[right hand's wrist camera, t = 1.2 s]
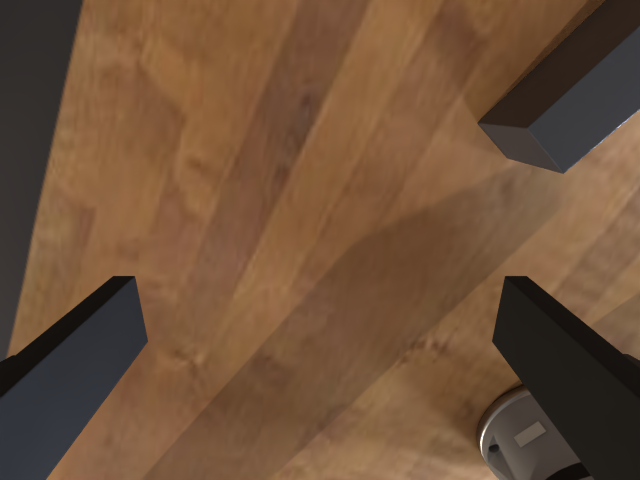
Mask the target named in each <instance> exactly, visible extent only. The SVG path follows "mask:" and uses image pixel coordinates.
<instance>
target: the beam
mask: <svg viewBox="0 0 640 480" xmlns="http://www.w3.org/2000/svg"><path fill="white" fill-rule="evenodd" d="M639 110H640V0H606V1H605V2H604V3H603V4H602V5H601V6H600V7H598V8H597V9H596V10H595V11H594V12H593V13H592V14H591V15H590V16H589V17H588V18H587V19H586V20H585V21H584V22H583V23H582V24H581V25H580V26H579V27H578V28H576V29H575V30H574V31H573V32H572V33H571V34H570V35H569V36H568V37H567V38H566V39H565V40H564V41H563V42H562V43H561V44H560V45H559V46H558V47H557V48H555V49H554V50H553V51H552V52H551V53H550V54H549V55H548V56H547V57H546V58H545V59H544V60H543V61H542V62H541V63H540V64H539V65H538V66H537V67H536V68H535V69H533V70H532V71H531V72H530V73H529V74H528V75H527V76H526V77H525V78H524V79H523V80H522V81H521V82H520V83H519V84H518V85H517V86H516V87H515V88H514V89H512V90H511V91H510V92H509V93H508V94H507V95H506V96H505V97H504V98H503V99H502V100H501V101H500V102H499V103H498V104H497V105H496V106H495V107H494V108H493V109H492V110H490V111H489V112H488V113H487V114H486V115H485V116H484V117H483V118H482V119H481V120H480V121H479V122H478V125H479V126H480V127H481V128H482V129H483V130H484V132H485V133H486V134H487V135H488V136H489V137H490V139H491V140H492V141H493V142H494V143H495V144H496V146H497V147H498V148H499V149H500V150H501V151H502V153H503V154H504V155H505V156H506V157H507V158H508V159H512V160H515V161H519V162H523V163H526V164H530V165H533V166H537V167H541V168H544V169H548V170H551V171H555V172H559V173H562V174H564V173H565V172H566V171H567V170H569V169H570V168H571V167H572V166H573V165H575V164H576V163H577V162H578V161H579V160H581V159H582V158H583V157H584V156H585V155H586V154H588V153H589V152H590V151H591V150H592V149H594V148H595V147H596V146H597V145H598V144H600V143H601V142H602V141H603V140H604V139H605V138H607V137H608V136H609V135H610V134H611V133H613V132H614V131H615V130H616V129H617V128H618V127H620V126H621V125H622V124H623V123H624V122H626V121H627V120H628V119H629V118H630V117H632V116H633V115H634V114H635V113H636V112H637V111H639Z"/></svg>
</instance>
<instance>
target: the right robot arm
mask: <svg viewBox="0 0 640 480" xmlns="http://www.w3.org/2000/svg"><path fill="white" fill-rule="evenodd" d="M147 342H148V339H147V334H146V329H145V324H144V319H143V314H142V309H141V304H140V299H139V294H138V289H137V284H136V279H135V276H113V277H112V278H110V279H109V280H108V281H107V282H105V283H104V284H103V285H102V286H101V287H99V288H98V289H97V290H96V291H94V292H93V293H92V294H91V295H89V296H88V297H87V298H86V299H84V300H83V301H82V302H81V303H80V304H78V305H77V306H76V307H75V308H73V309H72V310H71V311H70V312H68V313H67V314H66V315H65V316H64V317H62V318H61V319H60V320H59V321H57V322H56V323H55V324H54V325H52V326H51V327H50V328H49V329H48V330H46V331H45V332H44V333H43V334H41V335H40V336H39V337H38V338H36V339H35V340H34V341H33V342H31V343H30V344H29V345H28V346H27V347H25V348H24V349H23V350H22V351H20V352H19V353H18V354H17V355H13V356H11V357H9V358H7V359H5V360H3V361H1V362H0V480H46V479H47V477H48V476H49V475H50V473H51V472H52V471H53V469H54V468H55V467H56V465H57V464H58V462H59V461H60V460H61V458H62V457H63V456H64V454H65V453H66V452H67V450H68V449H69V448H70V446H71V445H72V444H73V442H74V441H75V439H76V438H77V437H78V435H79V434H80V433H81V431H82V430H83V429H84V427H85V426H86V425H87V423H88V422H89V421H90V419H91V418H92V416H93V415H94V414H95V412H96V411H97V410H98V408H99V407H100V406H101V404H102V403H103V402H104V400H105V399H106V397H107V396H108V395H109V393H110V392H111V391H112V389H113V388H114V387H115V385H116V384H117V383H118V381H119V380H120V379H121V377H122V376H123V374H124V373H125V372H126V370H127V369H128V368H129V366H130V365H131V364H132V362H133V361H134V360H135V358H136V357H137V356H138V354H139V353H140V351H141V350H142V349H143V347H144V346H145V345H146V343H147ZM492 342H493V343H494V345H495V346H496V347H497V349H498V350H499V351H500V353H501V354H502V356H503V357H504V358H505V360H506V361H507V362H508V364H509V365H510V366H511V368H512V369H513V370H514V372H515V373H516V374H517V376H518V377H519V379H520V380H521V381H522V383H523V384H524V385H523V386H520V387H518V388H515V389H513V390H511V391H510V392H508V393H506V394H504V395H503V396H501V397H500V398H499V399H497V400H496V401H495V402H494V403H493V404H492V405H491V406H490V407H489V408H488V409H487V411H486V412H485V413H484V415H483V416H482V418H481V420H480V422H479V425H478V429H477V444H478V447H479V450H480V452H481V454H482V456H483V458H484V460H485V462H486V464H487V465H488V466H489V468H490V469H491V471H492V472H493V473H494V474H495V476H496V477H497V478H498V479H499V480H640V360H638V359H636V358H634V357H632V356H630V355H628V354H622V353H621V352H620V351H618V350H617V349H616V348H615V347H613V346H612V345H611V344H610V343H609V342H607V341H606V340H605V339H604V338H602V337H601V336H600V335H599V334H597V333H596V332H595V331H594V330H592V329H591V328H590V327H589V326H588V325H586V324H585V323H584V322H583V321H581V320H580V319H579V318H578V317H576V316H575V315H574V314H573V313H572V312H570V311H569V310H568V309H567V308H565V307H564V306H563V305H562V304H560V303H559V302H558V301H557V300H556V299H554V298H553V297H552V296H551V295H549V294H548V293H547V292H546V291H544V290H543V289H542V288H541V287H539V286H538V285H537V284H536V283H535V282H533V281H532V280H531V279H530V278H528V277H527V276H505V279H504V284H503V289H502V294H501V299H500V304H499V309H498V314H497V319H496V324H495V329H494V334H493V339H492Z"/></svg>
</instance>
